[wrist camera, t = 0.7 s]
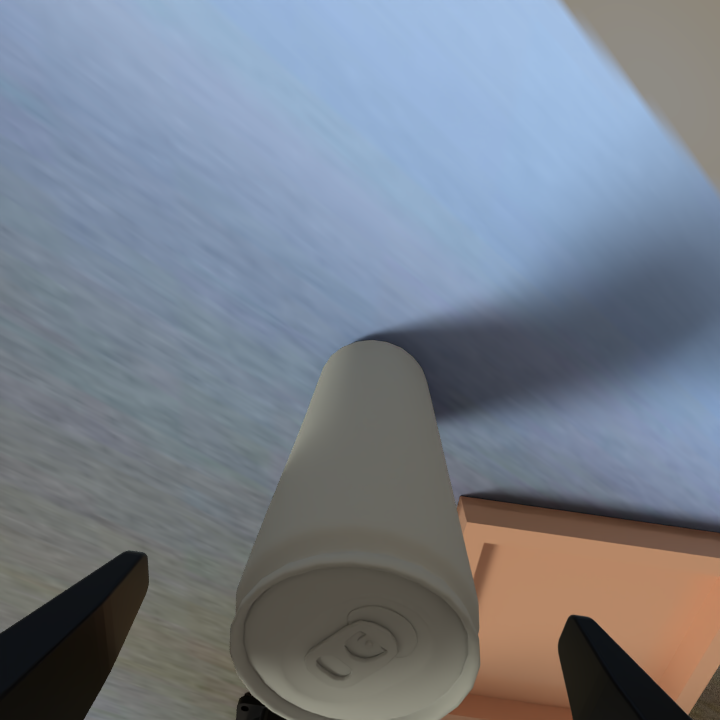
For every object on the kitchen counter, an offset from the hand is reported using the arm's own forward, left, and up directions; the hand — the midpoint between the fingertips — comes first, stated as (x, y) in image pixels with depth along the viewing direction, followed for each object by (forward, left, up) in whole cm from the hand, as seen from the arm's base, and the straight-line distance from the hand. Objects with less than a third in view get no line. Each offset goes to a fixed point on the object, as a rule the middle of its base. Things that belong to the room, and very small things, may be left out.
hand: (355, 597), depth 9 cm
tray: (-12, -12, -11) cm, 20 cm away
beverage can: (0, 0, -11) cm, 11 cm away
